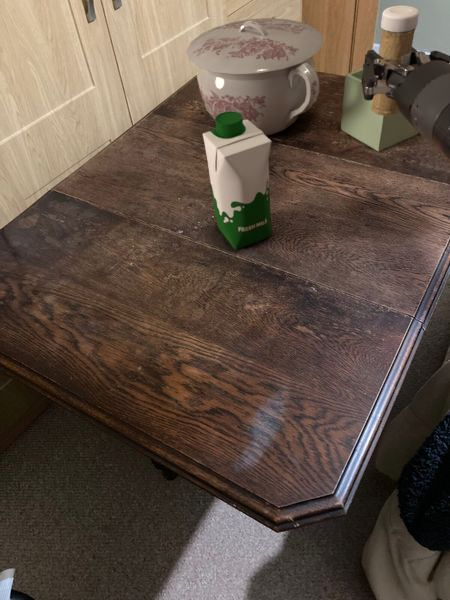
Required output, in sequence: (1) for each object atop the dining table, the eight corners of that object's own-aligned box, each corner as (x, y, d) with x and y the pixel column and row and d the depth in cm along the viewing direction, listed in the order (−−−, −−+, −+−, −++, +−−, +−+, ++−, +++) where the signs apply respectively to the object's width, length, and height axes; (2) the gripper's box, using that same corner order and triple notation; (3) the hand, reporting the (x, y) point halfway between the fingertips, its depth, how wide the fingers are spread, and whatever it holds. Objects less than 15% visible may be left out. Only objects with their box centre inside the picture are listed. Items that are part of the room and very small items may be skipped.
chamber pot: (201, 97, 121) (189, 4, 106) (314, 89, 119) (318, -8, 104) (192, 159, 102) (175, 56, 87) (326, 151, 100) (332, 43, 85)
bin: (381, 113, 108) (389, 57, 99) (420, 133, 101) (433, 75, 92) (340, 130, 105) (345, 74, 96) (378, 152, 98) (386, 94, 89)
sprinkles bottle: (364, 111, 74) (375, 12, 64) (382, 99, 76) (395, 2, 66) (390, 120, 71) (406, 18, 62) (408, 107, 73) (426, 7, 64)
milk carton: (255, 210, 89) (248, 103, 74) (279, 238, 83) (277, 127, 68) (210, 227, 87) (194, 119, 72) (233, 256, 81) (220, 146, 66)
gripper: (509, 63, 56) (438, 16, 68) (390, 85, 56) (338, 34, 67) (490, 124, 62) (427, 71, 74) (381, 145, 61) (335, 88, 73)
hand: (385, 54), depth 70 cm, fingers closed on sprinkles bottle, 4 cm apart
